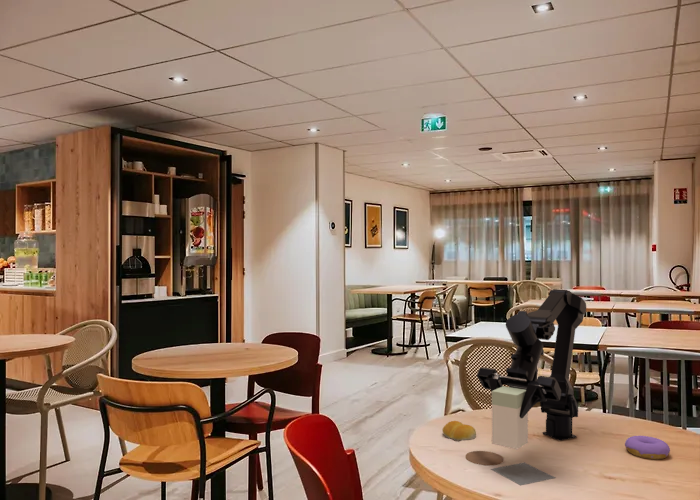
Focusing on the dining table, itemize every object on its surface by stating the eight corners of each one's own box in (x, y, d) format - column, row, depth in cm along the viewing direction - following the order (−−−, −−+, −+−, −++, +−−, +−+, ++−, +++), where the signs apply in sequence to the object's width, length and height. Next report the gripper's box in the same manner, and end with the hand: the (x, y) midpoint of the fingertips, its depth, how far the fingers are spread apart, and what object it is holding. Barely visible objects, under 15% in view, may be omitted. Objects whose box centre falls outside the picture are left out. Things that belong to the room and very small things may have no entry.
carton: (503, 437, 131) (502, 386, 131) (527, 442, 127) (527, 390, 127) (491, 443, 126) (491, 391, 126) (517, 449, 123) (516, 395, 123)
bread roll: (464, 444, 146) (464, 429, 146) (437, 436, 153) (437, 421, 153) (483, 437, 151) (483, 423, 151) (456, 430, 158) (456, 415, 158)
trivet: (487, 451, 140) (487, 448, 140) (511, 463, 132) (511, 460, 132) (458, 456, 136) (458, 454, 136) (481, 469, 128) (481, 466, 128)
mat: (524, 464, 132) (524, 462, 132) (556, 479, 122) (556, 477, 122) (490, 470, 127) (490, 468, 127) (520, 487, 118) (520, 485, 118)
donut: (669, 449, 141) (669, 432, 140) (670, 469, 133) (670, 451, 132) (625, 443, 146) (625, 426, 145) (624, 462, 138) (624, 444, 137)
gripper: (573, 383, 133) (557, 442, 124) (500, 372, 145) (480, 425, 136) (562, 355, 127) (544, 415, 118) (486, 346, 139) (465, 400, 130)
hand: (507, 414), depth 126 cm, fingers closed on carton, 6 cm apart
